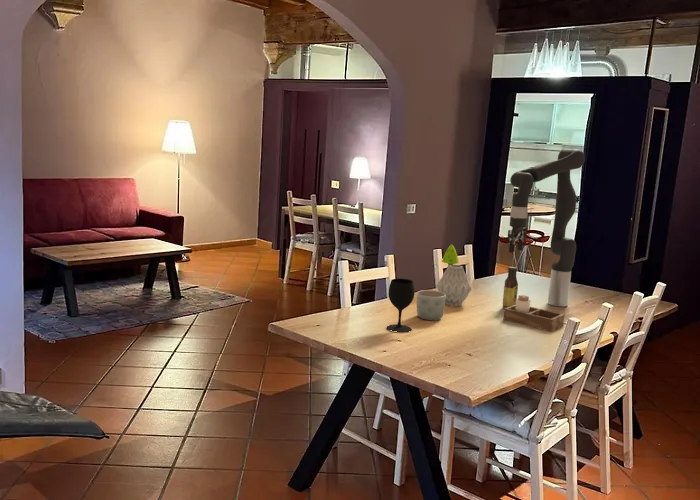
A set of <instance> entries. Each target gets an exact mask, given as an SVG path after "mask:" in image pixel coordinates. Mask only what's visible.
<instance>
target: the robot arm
mask: <svg viewBox="0 0 700 500" xmlns="http://www.w3.org/2000/svg"><path fill="white" fill-rule="evenodd" d="M585 161H586V156H585V153H584V152H583V150H580V149H577V148H576V149H574V148H573V149H572V148H564V149H561V150H560V151H559V153H558V155H557V160H551V161H546V162H543V163H540V164H538V165H534V166H533V167H530V168H526V169H522V170H519V171H516V172H514V173H513V174H512V175H511V177H510V179H509V180H510V184H511V185H512V186H513V187H514V188H518V189H519V190H518V192H515V193H514V194H513V195H512V197H511V198H512V200H511V208H510V217H509V227H511V229H508V231H507V239H506V243H507V244H509V247H508V252H509V253H511V254H513V253H515V246H516V245H515V244H516V242H517V251H523V247H524V243H525V241H527V230H528V228H527V226H528V212H529V211H528V209H529V208H528V206H529V197H530V195H531V192H532V189H533V186H534V183H537V182H541V181H543V180H545V179H548V178H550V177H552V176H553V177H554V176H555V175H557V185H556V186H557V187H556V195H555V209H554V210H555V211H554V212H555V213H554V221H553V229H552V233H551V239H550V251H551V253H552V254H553V255H556V256H559V260H558V261H556V262H553V263H552V264H551V271H550V280H549V288H548V297H547V298H548V299H547V304H549V305H550V306H555V307H567V306H568V305H569V304H568V303H569V294H570V286H571V277H572V268H573V267H574V264H575V259H576V253H577V243H576V241H575V240H574V239H572V238H570V237H566V230H567V226H568V224H569V222H570V221H571V219H572V218H573V217H574V214H575V212H576V209H577V207H576V206H577V194H576V191H575V189H574V186H573V183H572V180H571V171H573V170H577V169H580V168H581V167H582V166H583V165H584V163H585Z"/></svg>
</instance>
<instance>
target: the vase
mask: <svg viewBox="0 0 700 500" xmlns="http://www.w3.org/2000/svg"><path fill="white" fill-rule="evenodd" d="M447 267H448V266H447ZM446 269H447V270H446ZM446 269H445V271H444V272H443V274H442V276H441V277H440V279H439V281H437V284H436V285H435V286H436V288H437V291H439V292H443V293H445V294H446V299H445V305H446V306H451V307H457V306H458V307H460V306H462V305H463V303H464V301H466V300H467V298H468V296H469V294H470V292H471V291H472V287H471V286H472V285H471V283H470V281H469V280H468V276H467V273H466V272H465V269H464V266H463V265H459V264H453V265H449V267H448V268H446Z"/></svg>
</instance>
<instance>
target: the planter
mask: <svg viewBox="0 0 700 500" xmlns="http://www.w3.org/2000/svg"><path fill="white" fill-rule="evenodd" d="M445 299H446V294H445V293H443V292H439V291H438V290H431V289H422V290H419V291H417V292H416V314H417V316H418V317H419V318H420V319H423V320H426V321H438V320H441V319H443V316H444V313H445V308H446V307H445V305H446V304H445Z"/></svg>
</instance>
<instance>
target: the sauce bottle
mask: <svg viewBox="0 0 700 500" xmlns="http://www.w3.org/2000/svg"><path fill="white" fill-rule="evenodd" d="M517 271H518V267H516V266H508V268H507V272H508V274H507V278H506V279H505V280H504V285H503V286H504V287H503V295H502V297H503V298H502V309H503V310H504V309H505V308H508V307H510V306H513V305H516V299H518V291H519V290H518V289H519V283H518V280H517Z"/></svg>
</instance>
